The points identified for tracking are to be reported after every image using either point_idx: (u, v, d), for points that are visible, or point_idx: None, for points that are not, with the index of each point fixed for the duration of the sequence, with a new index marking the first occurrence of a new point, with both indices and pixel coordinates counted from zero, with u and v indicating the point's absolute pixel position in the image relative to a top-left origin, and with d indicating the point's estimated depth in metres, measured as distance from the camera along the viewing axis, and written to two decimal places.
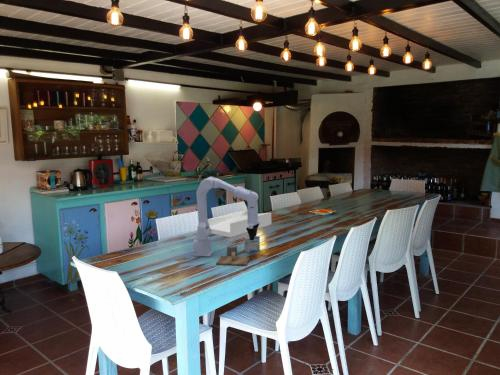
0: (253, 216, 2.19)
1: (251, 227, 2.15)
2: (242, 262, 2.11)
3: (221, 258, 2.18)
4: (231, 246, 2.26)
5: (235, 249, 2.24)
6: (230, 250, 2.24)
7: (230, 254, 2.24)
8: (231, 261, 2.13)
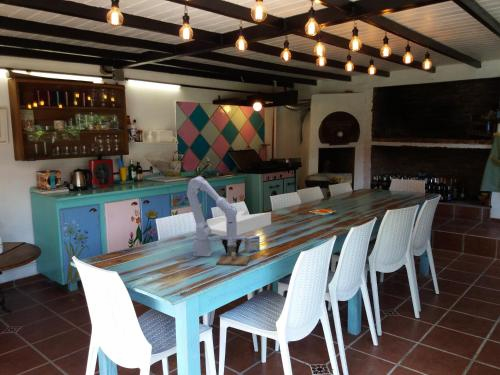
0: None
1: None
2: (242, 262, 2.11)
3: (221, 258, 2.18)
4: (231, 246, 2.26)
5: (235, 249, 2.24)
6: (230, 250, 2.24)
7: (230, 254, 2.24)
8: (231, 261, 2.13)
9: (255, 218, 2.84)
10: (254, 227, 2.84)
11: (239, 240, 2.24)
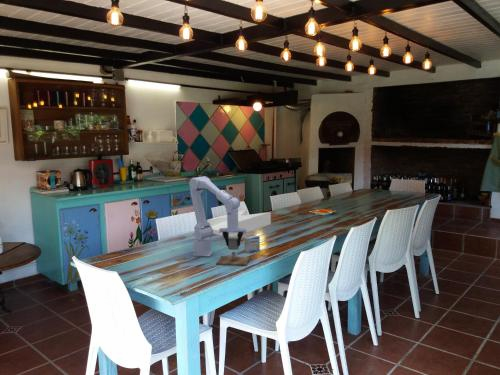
0: (227, 222, 2.13)
1: None
2: (242, 262, 2.11)
3: (221, 258, 2.18)
4: (232, 239, 2.15)
5: (236, 242, 2.13)
6: (231, 243, 2.12)
7: (231, 247, 2.13)
8: (231, 261, 2.13)
9: (255, 218, 2.85)
10: (254, 227, 2.84)
11: (241, 232, 2.13)
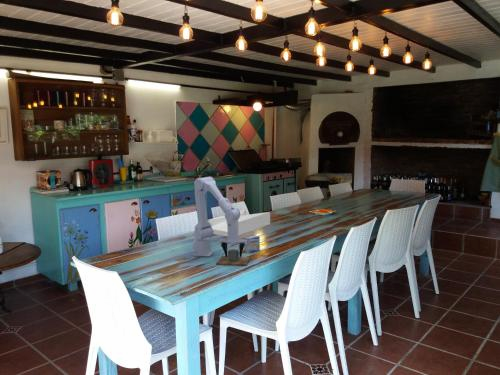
0: None
1: None
2: (242, 262, 2.11)
3: (221, 258, 2.18)
4: (232, 250, 2.15)
5: (237, 253, 2.13)
6: (231, 254, 2.12)
7: (231, 259, 2.13)
8: None
9: (255, 218, 2.85)
10: (254, 227, 2.85)
11: (241, 243, 2.12)
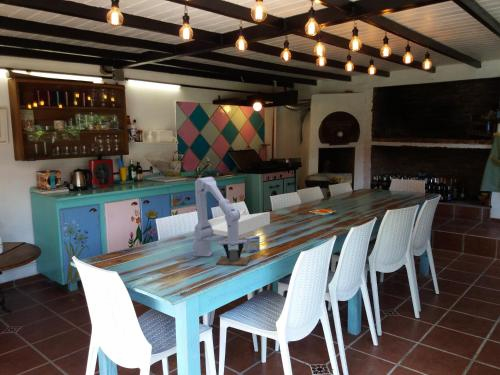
0: (228, 234, 2.12)
1: (219, 244, 2.12)
2: (242, 262, 2.11)
3: (221, 258, 2.18)
4: (232, 250, 2.15)
5: (237, 253, 2.14)
6: (233, 254, 2.12)
7: (233, 259, 2.13)
8: (231, 261, 2.13)
9: (255, 218, 2.85)
10: (255, 227, 2.85)
11: (241, 244, 2.14)
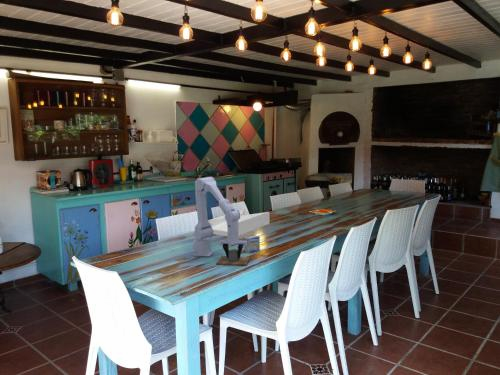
0: None
1: None
2: (242, 262, 2.11)
3: (221, 258, 2.18)
4: (233, 250, 2.14)
5: None
6: (237, 254, 2.14)
7: (237, 258, 2.14)
8: (231, 261, 2.13)
9: (256, 218, 2.85)
10: (255, 227, 2.85)
11: (241, 244, 2.13)
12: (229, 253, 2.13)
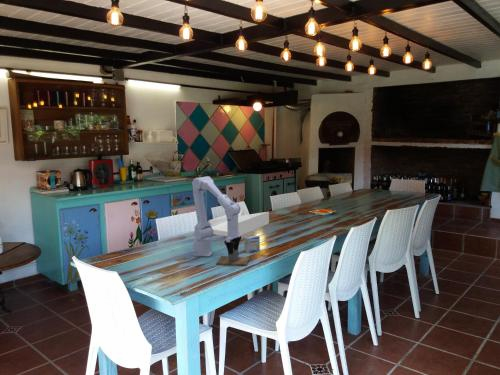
0: (232, 229, 2.10)
1: (228, 241, 2.07)
2: (242, 262, 2.11)
3: (221, 258, 2.18)
4: (233, 250, 2.14)
5: None
6: None
7: None
8: None
9: (256, 218, 2.86)
10: (255, 227, 2.85)
11: None
12: (235, 253, 2.12)
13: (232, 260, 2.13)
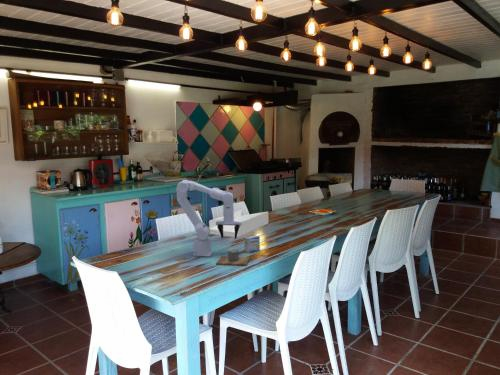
0: (223, 215, 2.25)
1: None
2: (242, 262, 2.11)
3: (221, 258, 2.18)
4: (233, 250, 2.14)
5: None
6: None
7: None
8: None
9: (256, 218, 2.86)
10: (255, 226, 2.86)
11: (236, 225, 2.25)
12: (235, 253, 2.12)
13: (232, 260, 2.13)
